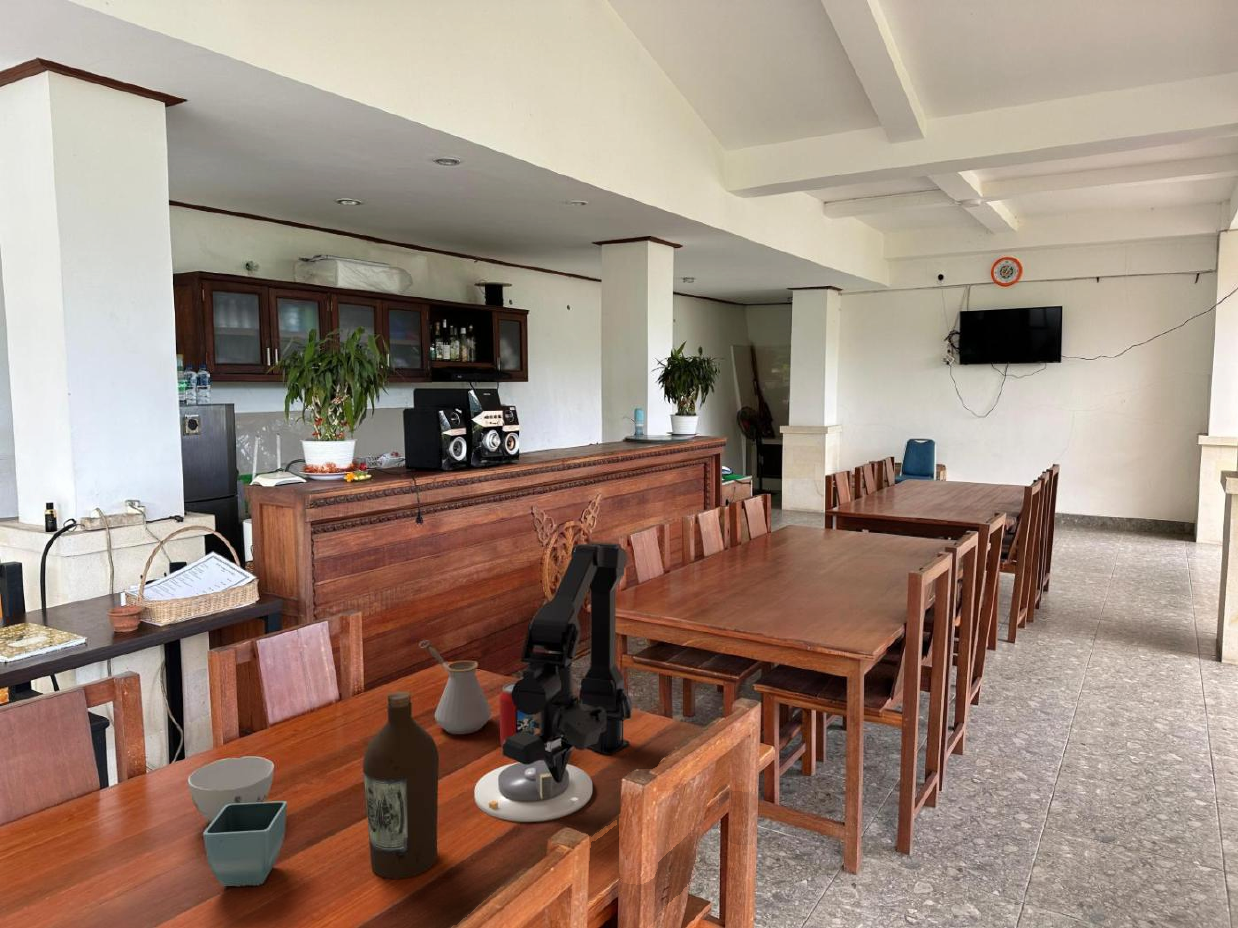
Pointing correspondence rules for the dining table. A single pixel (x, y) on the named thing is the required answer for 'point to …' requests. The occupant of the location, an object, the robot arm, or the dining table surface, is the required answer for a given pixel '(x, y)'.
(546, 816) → the plate
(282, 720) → the dining table surface
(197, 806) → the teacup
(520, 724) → the beverage can
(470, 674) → the coffee pot
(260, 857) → the flower pot
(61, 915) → the dining table surface
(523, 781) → the dial
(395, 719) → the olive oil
